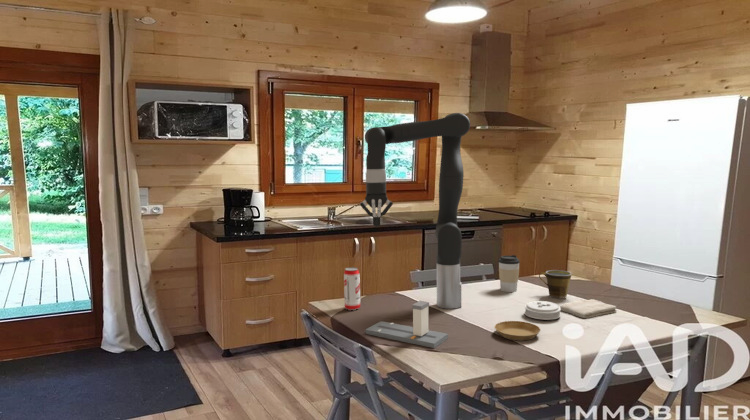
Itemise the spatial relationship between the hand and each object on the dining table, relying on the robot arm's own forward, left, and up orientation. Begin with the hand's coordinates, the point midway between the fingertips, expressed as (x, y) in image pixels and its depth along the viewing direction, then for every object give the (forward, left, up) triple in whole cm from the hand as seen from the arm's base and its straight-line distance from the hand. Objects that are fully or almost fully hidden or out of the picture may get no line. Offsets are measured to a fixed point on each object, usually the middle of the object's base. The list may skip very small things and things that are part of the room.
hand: (376, 226), depth 200 cm
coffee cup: (-58, -24, -33) cm, 71 cm away
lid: (-60, +12, -34) cm, 70 cm away
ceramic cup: (-74, -13, -33) cm, 82 cm away
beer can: (+10, -4, -33) cm, 35 cm away
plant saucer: (-45, +30, -34) cm, 64 cm away
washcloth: (-79, +8, -34) cm, 86 cm away
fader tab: (-13, +31, -31) cm, 46 cm away
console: (-8, +28, -33) cm, 44 cm away
